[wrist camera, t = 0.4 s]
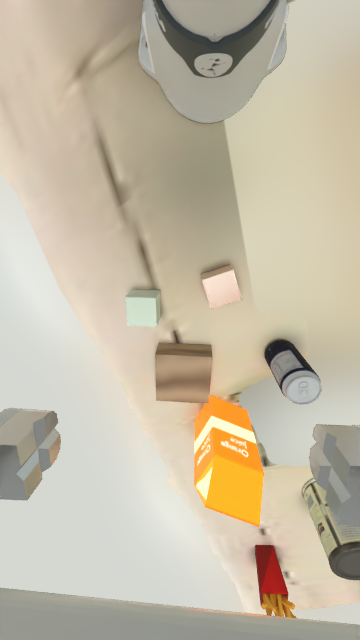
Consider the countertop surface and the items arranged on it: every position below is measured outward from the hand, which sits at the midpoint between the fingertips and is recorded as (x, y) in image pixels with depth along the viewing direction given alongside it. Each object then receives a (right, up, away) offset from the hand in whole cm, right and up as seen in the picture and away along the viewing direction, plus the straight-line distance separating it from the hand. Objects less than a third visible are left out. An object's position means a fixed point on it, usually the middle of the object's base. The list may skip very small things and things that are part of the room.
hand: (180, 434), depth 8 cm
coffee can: (+35, -37, +52) cm, 73 cm away
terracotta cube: (+7, +10, +35) cm, 37 cm away
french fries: (+25, -60, +61) cm, 90 cm away
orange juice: (+9, -17, +46) cm, 50 cm away
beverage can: (+19, -2, +39) cm, 44 cm away
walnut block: (+1, -6, +42) cm, 42 cm away
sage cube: (-6, +7, +38) cm, 39 cm away
